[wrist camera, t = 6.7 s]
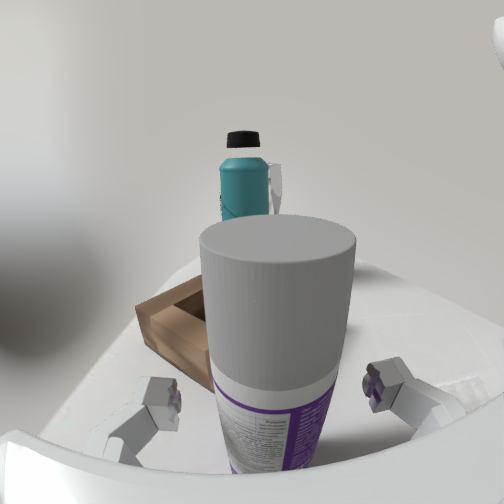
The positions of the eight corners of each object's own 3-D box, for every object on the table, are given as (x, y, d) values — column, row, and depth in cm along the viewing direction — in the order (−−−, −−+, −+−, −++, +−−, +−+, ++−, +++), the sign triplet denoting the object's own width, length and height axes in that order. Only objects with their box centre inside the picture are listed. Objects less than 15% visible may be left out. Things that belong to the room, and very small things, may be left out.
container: (291, 432, 16) (312, 209, 10) (318, 484, 12) (396, 249, 6) (224, 448, 15) (189, 220, 9) (242, 505, 10) (204, 277, 5)
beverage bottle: (273, 270, 41) (272, 132, 34) (267, 291, 35) (266, 127, 28) (230, 267, 43) (225, 133, 35) (218, 288, 36) (209, 130, 29)
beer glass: (286, 247, 51) (286, 164, 45) (248, 250, 50) (246, 165, 44) (276, 236, 57) (276, 163, 52) (242, 238, 56) (240, 163, 51)
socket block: (311, 330, 27) (315, 292, 25) (237, 407, 18) (233, 367, 17) (224, 297, 34) (221, 264, 32) (145, 344, 25) (134, 306, 23)
